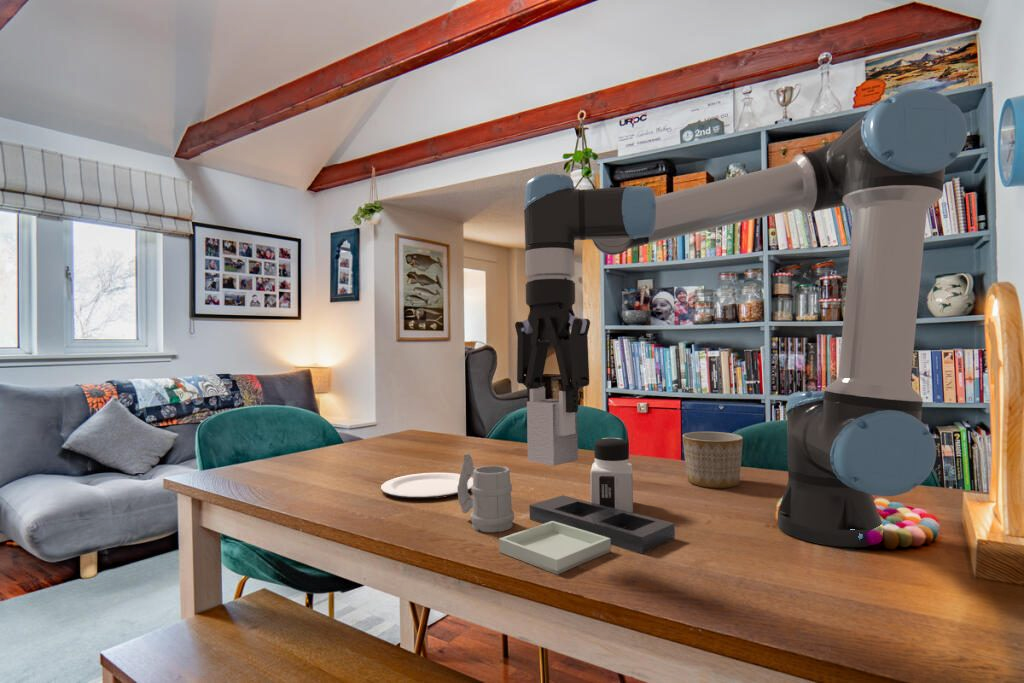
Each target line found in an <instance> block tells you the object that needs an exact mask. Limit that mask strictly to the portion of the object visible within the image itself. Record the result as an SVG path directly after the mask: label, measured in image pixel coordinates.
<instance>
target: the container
mask: <svg viewBox="0 0 1024 683" xmlns="http://www.w3.org/2000/svg"><path fill="white" fill-rule="evenodd" d="M593 446H594V448H593V449H594V450H593V451H594V462H592V465H591V468H590V474H589V475H590V502H591V503H595V504H599V505H603V506H607V507H611V508H615V509H619V510H623V511H627V512H631V513H634V495H633V494H634V492H633V491H634V490H633V488H634V486H633V485H634V484H633V483H634V482H633V481H634V480H633V477H634V476H633V464H632V463H630V455H629V454H630V451H629V450H630V449H629V448H630V447H629V442H628V441H627V440H625V439H623V438H619V437H604V438H603V437H602V438H600V439H597V440H595V442H594V444H593Z"/></svg>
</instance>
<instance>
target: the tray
mask: <svg viewBox="0 0 1024 683" xmlns="http://www.w3.org/2000/svg"><path fill="white" fill-rule="evenodd" d="M611 545H612V544H611V540H610V538H608V537H605V536H601V535H598V534H595V533H591V532H588V531H585V530H581V529H578V528H575V527H571V526H568V525H565V524H561V523H558V522H555V521H550V522H547V523H542V524H538V525H535V526H533V527H530V528H527V529H524V530H521V531H517V532H514V533H511V534H509V535H506V536H503V537H499V538H498V552H499V553H502V554H504V555H506V556H508V557H509V556H510V557H511V558H514V559H517V560H519V561H521V562H524V563H527V564H528V565H529V564H530V565H532V566H534V567H537V568H539V569H543V570H544V571H546V572H549V573H552V574H554V575H559V574H562V573H564V572H566V571H568V570H572V569H573V568H575V567H577V566H578V567H579V566H581V565H583V564H585V563H587V562H590V561H592V560H594V559H596V558H597V559H598V558H599V557H601V556H604V555H605V554H609V553H611V551H612V550H611V549H612V548H611Z"/></svg>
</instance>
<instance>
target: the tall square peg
mask: <svg viewBox="0 0 1024 683" xmlns="http://www.w3.org/2000/svg"><path fill="white" fill-rule="evenodd" d="M526 424H527V425H526V426H527V427H526V430H527V435H526V438H527V461H528V462H534V463H539V464H544V465H549V466H553V467H555V466H558V465H559V466H560V465H563V464H568V463H572V462H576V461H579V444H578V442H579V440H578V439H579V436H578V435H579V434H578V431H579V430H578V411H577V412H575V434H570V435H565V436H561V435H559V398H548V399H547V398H545V400H536V401H526Z"/></svg>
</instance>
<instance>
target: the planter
mask: <svg viewBox="0 0 1024 683" xmlns="http://www.w3.org/2000/svg"><path fill="white" fill-rule="evenodd" d="M743 441H744V437H743V436H741V435H740V434H736V433H731V432H721V431H720V432H719V431H693V432H686V433H683V434H682V443H683V444H682V445H683V452H684V453H683V454H684V462H685V471H686V478H687V480H688V482H689V483H691V484H692V485H695V486H698V487H700V488H701V487H702V488H710V489H728V488H729V489H730V488H732V487H733V488H734V487H736V486H738V484H739V483H740V480H741V478H740V477H741V469H742V468H741V465H742V457H743V456H742V453H743V452H742V451H743V444H744V443H743Z"/></svg>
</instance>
